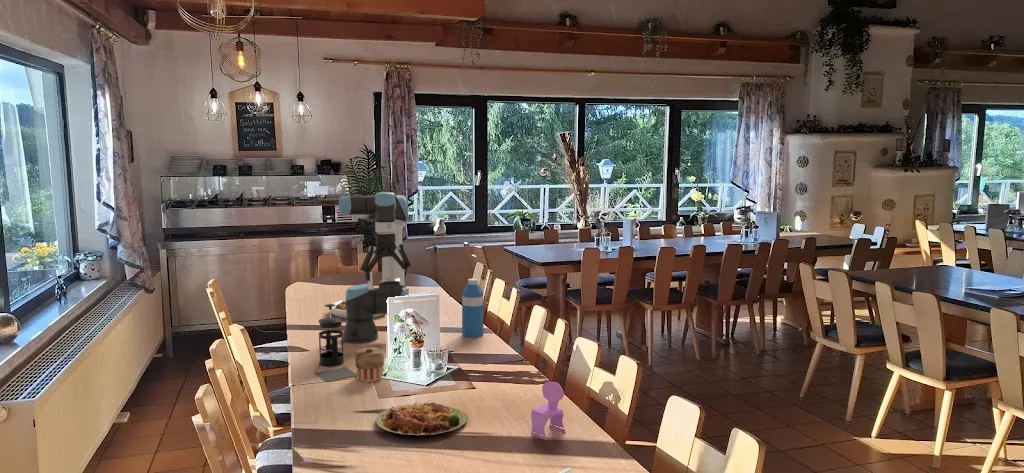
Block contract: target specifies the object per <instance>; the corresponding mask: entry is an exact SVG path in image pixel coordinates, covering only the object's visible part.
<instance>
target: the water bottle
mask: <svg viewBox="0 0 1024 473" xmlns="http://www.w3.org/2000/svg"><path fill="white" fill-rule="evenodd" d="M461 298H462V299H461V333H462V334H461V335H462V336H463V337H464V338H471V339H476V338H481V337H483V336H484V291H483V289H481V286H479V284H478V278H468V279H467V285H466V286H465V287H464V289H463V290H462V291H461Z"/></svg>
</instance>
